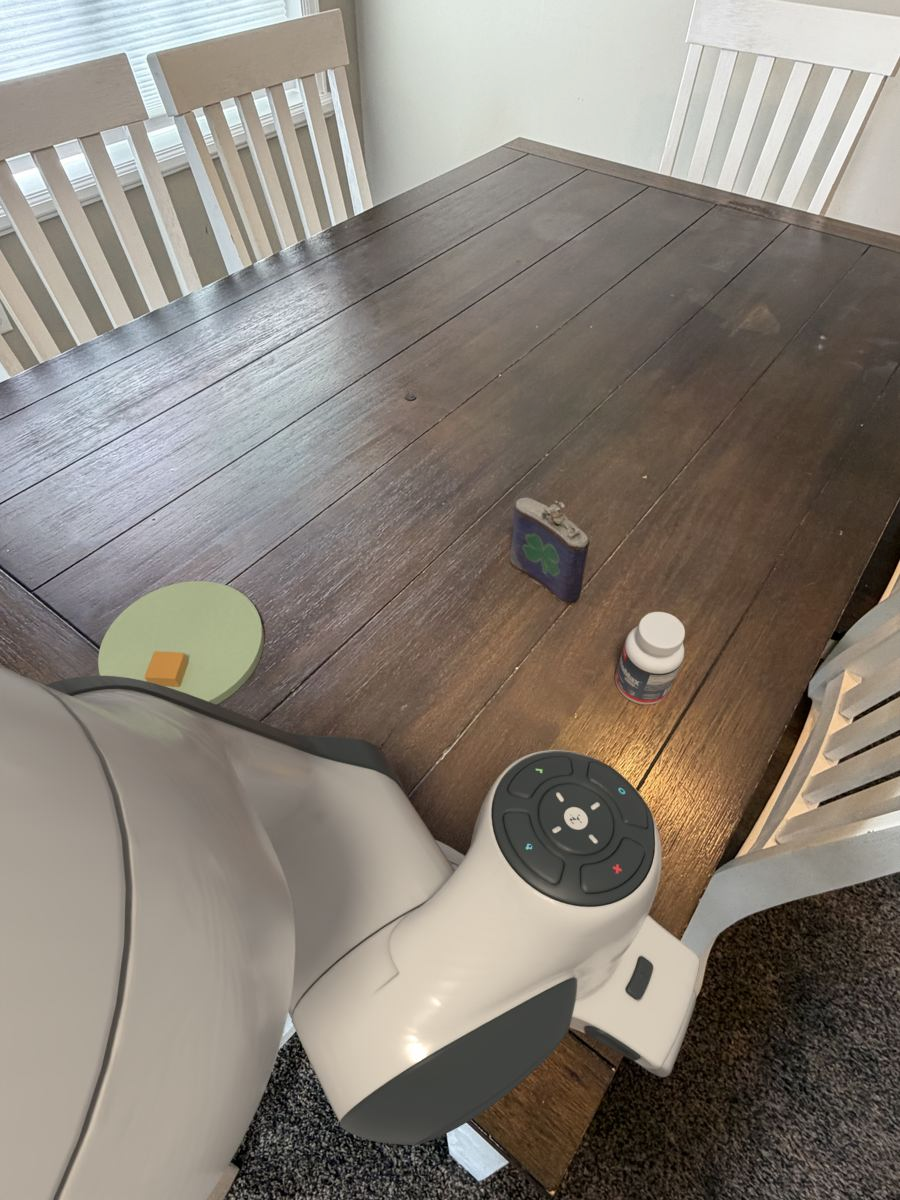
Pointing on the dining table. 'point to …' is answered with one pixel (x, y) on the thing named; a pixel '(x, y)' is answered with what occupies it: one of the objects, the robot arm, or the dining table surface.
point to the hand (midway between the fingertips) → (525, 976)
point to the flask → (549, 548)
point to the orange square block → (167, 668)
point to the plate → (188, 637)
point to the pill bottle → (651, 658)
